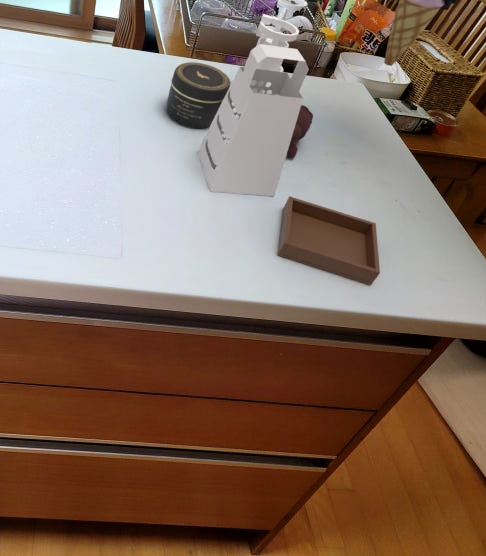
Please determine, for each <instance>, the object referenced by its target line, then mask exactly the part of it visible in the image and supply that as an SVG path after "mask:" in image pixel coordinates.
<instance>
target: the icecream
mask: <svg viewBox="0 0 486 556" xmlns="http://www.w3.org/2000/svg"><path fill="white" fill-rule="evenodd" d="M313 119H314V114H313V113H312V112H311V110H310V109H309V108H308V107H307V106H306V105H304V104H301V107H300V111H299V114H298V118H297V121H296V124H295V128H294V131H293V135H292V138H291V141H290V145H289V148H288V152H287V155H286V156H287V157H288V158H289V159H293V158H295V157H296V156H297V152H298V146H297V142H298V141H300V140H302V139H304V137H306V135H307V134H308V132H309V130H310V128H311V125H312V124H313Z"/></svg>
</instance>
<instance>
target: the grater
mask: <svg viewBox="0 0 486 556" xmlns="http://www.w3.org/2000/svg"><path fill="white" fill-rule="evenodd" d="M266 57H274V58H282V59H283V60H290V61H297V62H296V66H295V68H294V70H293V73H292V74H291V77H290V75H289V73H288V72H287V71H286V72H285V71H283V72H278V71H270V70H262V69H256V67H257V64H258V63H259V62H260V61H261V60H263V59H264V58H266ZM247 59H248V60H247ZM247 59H246V61H247V63H246V62H245V64H246V66H245V65H244V66H239V67H238V70H237V71H236V73H235V76H234V77H233V79H232V81H231V82H230V87H229V89H228V91H227V93H226V95H225V97H224V99H223V101H222V103H221V105H220V107H219V109H218V111H217V113H216V115H215V117H214V119H213V121H212V123H211V125H210V126H209V127H208V129H207V131H206V133H205V136H204V137H203V139H202V141H201V143H200V146H199V148H198V150H197V155H198V158H199V161H200V164H201V168H202V170H203V173H204V176H205V180H206V183H207V185H208V188H209V192H213V193H225V194H237V195H251V196H263V197H275V196H276V192H277V189H278V186H279V183H280V179H281V175H282V171H283V168H284V165H285V161H286V158H287V156H288V155H287V152H288V148H289V145H290V141H291V138H292V135H293V131H294V128H295V124H296V121H297V118H298V114H299V111H300V107H301V105H303V104H302V103H303V101H304V97H303V96H302V94H301V93H300V90H301V88H302V87H303V84H304V81H305V80H306V77H307V74H308V72H309V70H310V69H309V66H308V63H307V61H306V60H305V58H304V57H303V55H302V54H301V53H300V51H299V50H298V49H297V48H293V47H288V48H285V47H278V46H270V45H263V44H259V45H258V46H255V47H253V48H251V50H250V52H249V55H248V57H247ZM253 80H255V81H256V82H257V83H256V85H251V82H252V81H253ZM260 81H263V82H264V85H263V86H259V85H258V83H259V82H260ZM266 83H267V84H268V83H270V86H267V84H266ZM265 85H266V86H265ZM255 88H256V89H257V90H258V91H257V93H253V92H252V90H253V89H255ZM262 89H264V92H263V94H260V93H259V91H260V90H262ZM269 91H271V93H270V94H267V92H269ZM234 109H235V112H234V111H233V110H234ZM236 116H238V117H237V118H236ZM223 135H224V137H223ZM225 140H228V141H227V142H225ZM209 154H210V157H211V159H212V162H213V164H214V165H216V166H215V168H213V166H212V163H211V160H210V158H209Z"/></svg>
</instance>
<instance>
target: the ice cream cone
mask: <svg viewBox="0 0 486 556" xmlns="http://www.w3.org/2000/svg"><path fill="white" fill-rule="evenodd" d="M444 4H445V1H444V0H399V1H398V4H397V7H396V10H395V14H394V17H393V21H392V24H391V28H390V33H389V37H388V41H387V47H386V52H385V55H384V59H383V60H384V61H383V63H384V65H386V66H389V67H391V66H393V65H395V63H396V62H397V61H398V60H399V59H400V58H401V56H402V55H403V54H404V53H405V52H406V51H407V50H408V49H409V47H410V46H411V45H413V43H414V42H415V41H416V40H417V38H418V37H419V36H420V35H421V34H422V32H423V31H424V30H425V29H426V27H427V26H428V25H429V24H430V22H432V20H433V19H434V17H435V16H436V15H437V14H438V12H440V10H441V8H442V6H443V5H444Z"/></svg>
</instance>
